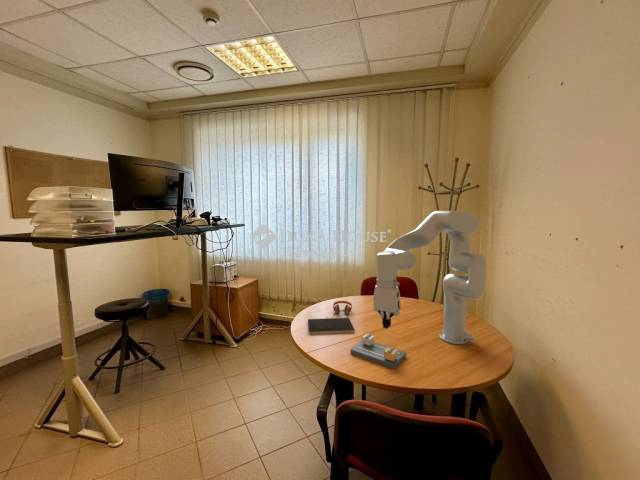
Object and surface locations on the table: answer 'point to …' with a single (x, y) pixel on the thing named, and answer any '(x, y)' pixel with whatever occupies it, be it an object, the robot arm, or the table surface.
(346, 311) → the headphones
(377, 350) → the mixer console
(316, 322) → the hardcover book
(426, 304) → the table surface
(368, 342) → the white fader
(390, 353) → the amber fader
